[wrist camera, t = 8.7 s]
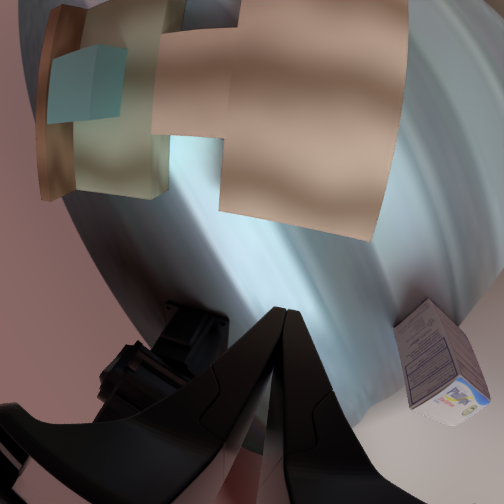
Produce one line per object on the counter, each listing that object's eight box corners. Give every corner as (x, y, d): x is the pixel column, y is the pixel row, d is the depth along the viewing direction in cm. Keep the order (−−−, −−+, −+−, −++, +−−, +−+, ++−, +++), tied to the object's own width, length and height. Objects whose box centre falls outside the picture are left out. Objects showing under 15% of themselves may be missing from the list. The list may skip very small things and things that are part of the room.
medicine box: (391, 327, 21) (406, 411, 13) (428, 294, 18) (461, 376, 11) (434, 359, 21) (450, 429, 14) (466, 333, 19) (493, 402, 12)
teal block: (119, 116, 15) (89, 120, 12) (75, 119, 16) (46, 124, 13) (127, 49, 13) (98, 43, 10) (81, 60, 13) (52, 59, 11)
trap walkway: (364, 226, 17) (379, 267, 13) (85, 180, 21) (41, 199, 16) (398, 10, 10) (422, -23, 5) (95, 18, 13) (50, 10, 8)
